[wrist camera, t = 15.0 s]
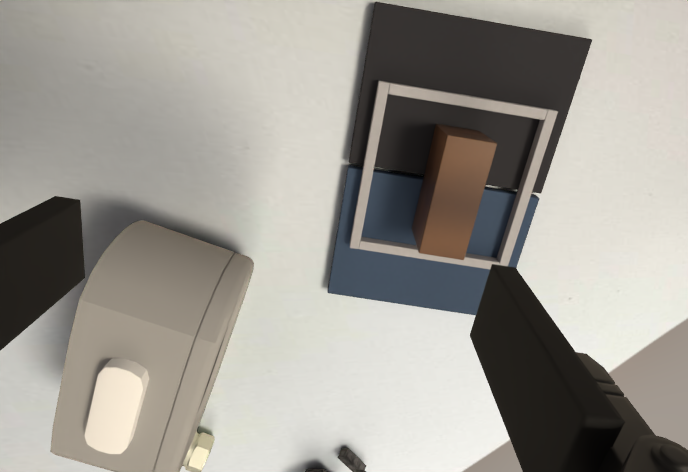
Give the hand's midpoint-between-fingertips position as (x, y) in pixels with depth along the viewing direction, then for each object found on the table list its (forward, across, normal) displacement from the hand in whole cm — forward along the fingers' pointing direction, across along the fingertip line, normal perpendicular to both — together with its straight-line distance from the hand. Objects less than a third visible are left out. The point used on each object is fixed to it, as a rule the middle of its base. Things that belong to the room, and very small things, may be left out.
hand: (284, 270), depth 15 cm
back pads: (+25, +10, -2) cm, 27 cm away
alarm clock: (+25, -11, -19) cm, 33 cm away
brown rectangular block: (+24, +10, -2) cm, 26 cm away
